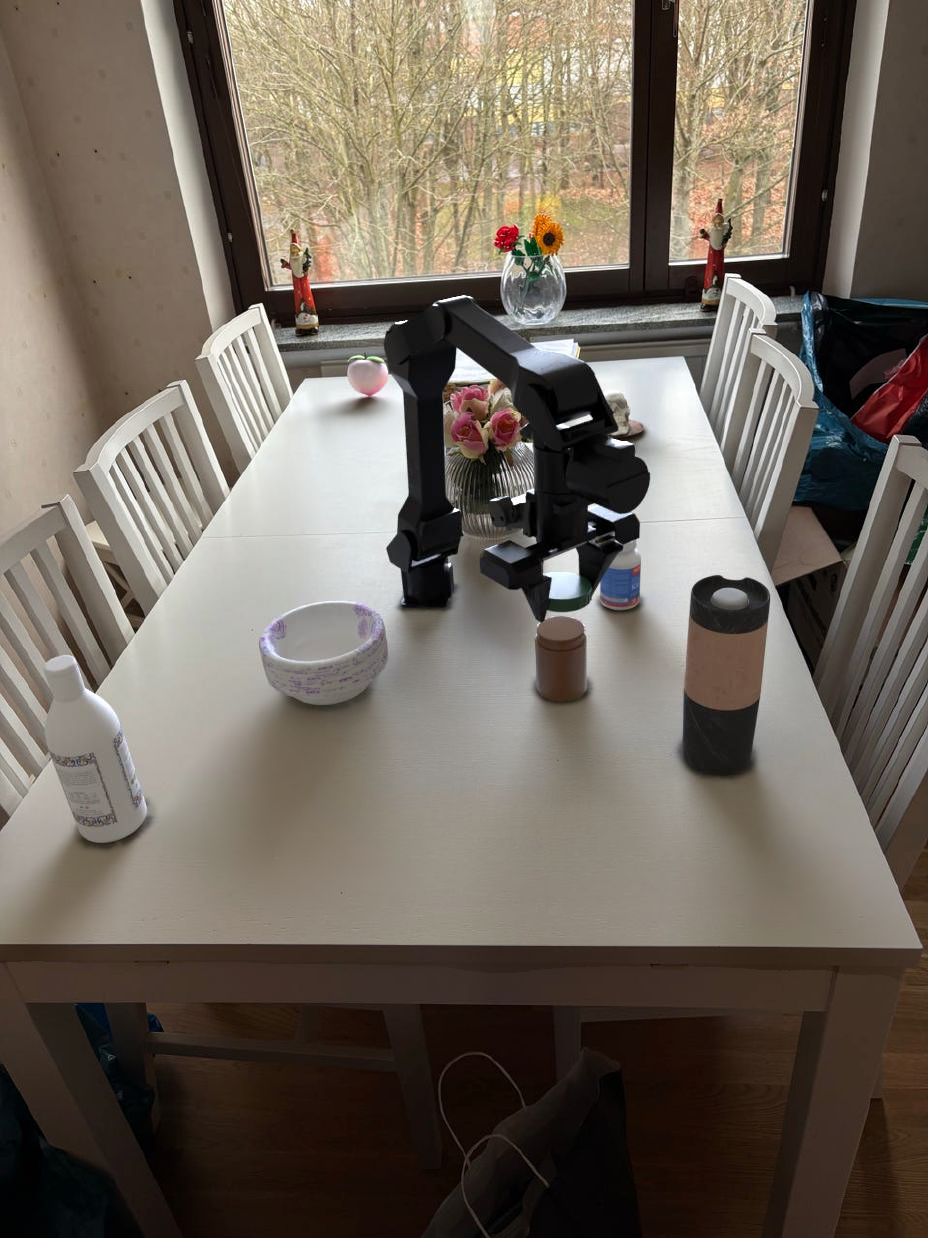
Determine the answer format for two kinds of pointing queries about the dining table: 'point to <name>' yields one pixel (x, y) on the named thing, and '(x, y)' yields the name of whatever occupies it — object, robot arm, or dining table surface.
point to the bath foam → (91, 757)
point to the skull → (621, 415)
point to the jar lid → (568, 592)
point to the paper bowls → (324, 651)
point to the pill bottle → (622, 579)
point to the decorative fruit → (367, 374)
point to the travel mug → (723, 672)
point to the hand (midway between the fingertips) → (562, 610)
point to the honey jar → (561, 658)
